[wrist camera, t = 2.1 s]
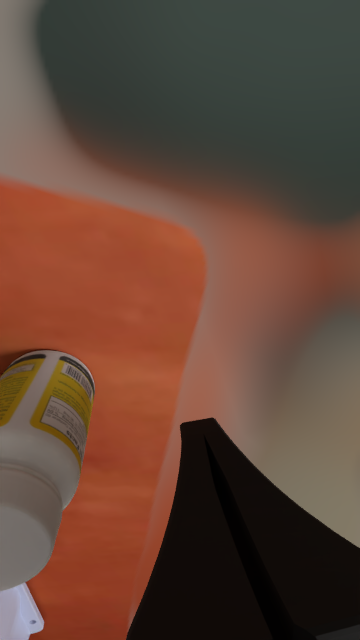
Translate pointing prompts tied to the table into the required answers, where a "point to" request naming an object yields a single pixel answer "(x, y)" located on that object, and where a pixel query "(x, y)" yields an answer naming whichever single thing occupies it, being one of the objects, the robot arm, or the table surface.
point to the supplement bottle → (39, 455)
